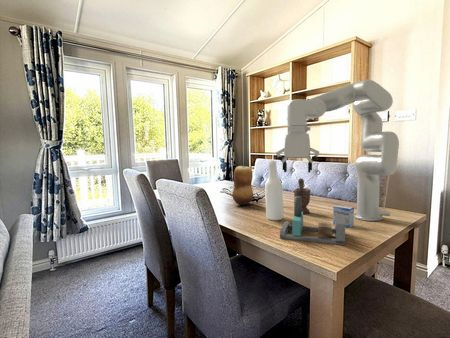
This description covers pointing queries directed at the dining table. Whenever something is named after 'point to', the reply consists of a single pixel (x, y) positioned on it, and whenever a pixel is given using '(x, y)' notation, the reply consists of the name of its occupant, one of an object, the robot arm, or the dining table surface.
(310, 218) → the dining table surface
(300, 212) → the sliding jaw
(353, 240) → the dining table surface
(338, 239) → the vise bed
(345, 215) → the medicine box
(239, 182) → the butternut squash
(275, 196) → the alcohol
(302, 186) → the brown bust statue
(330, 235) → the walnut block
